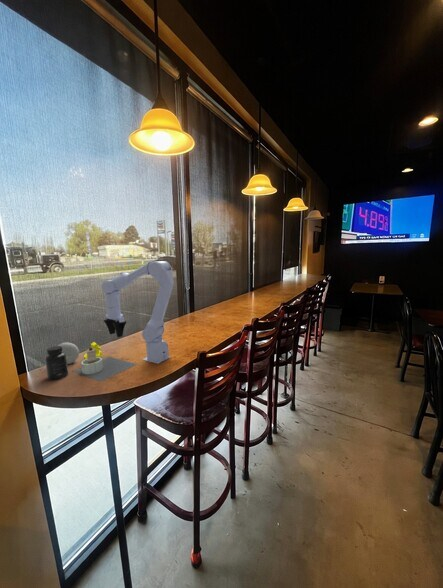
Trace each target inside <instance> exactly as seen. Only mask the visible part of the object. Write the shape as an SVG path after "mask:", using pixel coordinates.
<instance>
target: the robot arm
mask: <svg viewBox="0 0 443 588" xmlns="http://www.w3.org/2000/svg"><path fill="white" fill-rule="evenodd" d="M145 275H147V276H149V275H150V276H151V277H152V278H154V279H155V280H156V281H157V283H158V285H159V288H158V292H157V296H156V300H155V303H154V306H153V309H152V312H151V313H152V314H151V317H150V319H149V321H148V322H147V323H146V325H145V328H143V330H142V332H141V337H142V339H143V340H144V341H145V348H146V349H145V351H146V357H144V358H142V361H146V362H151V363H154V364H160V363H163V362H164V361H166V360H168V359H170V358H171V356H170V353H169V345H168V342H167V341H165V340H163V334H164V332H165V322H164V318H165V314H166V312H167V309H168V305H169V301H170V299H171V298H170V297H171V295H172V292H173V288H174V285H175V282H174V276H173V267H172V266H171V264H170V263H169V262H168V261H167V260H161V261H156V260H154V261H153V260H152V261H151V262H149V263H148V262H147V263H145V264H144V265H142V266H139V267H138V268H137V269H135V270H133V271H132V272H129V273H128V272H123V271H122V272H120V273H119V275H117V276H113V277H111V279H110V280H109V279H108V280H107V279H105V280H104V281H103V282H102V283H101V291H103V293H104V294H105V295H104V296H105V304H106V305H105V306H106V307H105V308H106V313H105V319H104V320H103V323H104V324H105V325H106V327H107V329H108V332H109V335H112V334H113V335H114V334H116V337H117V338H121V337H123V336H124V330H125V326H126V324H127V321H126V320H125V317H123V316H124V314H123V313H121V312H122V310H121V301H120V291H121V290H122V289H124V288H126V287H128V286H130V285H132V284H133V282H134V280H136V279H139V278H141V277H143V276H145Z"/></svg>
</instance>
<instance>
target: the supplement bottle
mask: <svg viewBox="0 0 443 588" xmlns="http://www.w3.org/2000/svg"><path fill="white" fill-rule="evenodd" d="M62 351H63V350H62V346H58V345H55V346H51V347H49V348H47V349H46V353H47V355H46V357H45V360H44V361H45V362H44V363H45V369H46V375H47V380H49V381H57V380H62V379H64V378H66V377H67V376H69V367H68V364H67V359H66V357H67V355H66V353H65V352H64V351H63V352H62Z"/></svg>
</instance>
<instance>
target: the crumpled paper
mask: <svg viewBox="0 0 443 588" xmlns="http://www.w3.org/2000/svg"><path fill="white" fill-rule="evenodd" d="M90 348H92V349H93V348H95V354H96V357H101V358H102V356H103V351H101V350H102V348H101V346H100V345H99V344H97V343H96V342H95V341H93V342H91V344H90ZM85 359H87V352H86V353H85V354H84V356H83V360H85Z"/></svg>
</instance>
